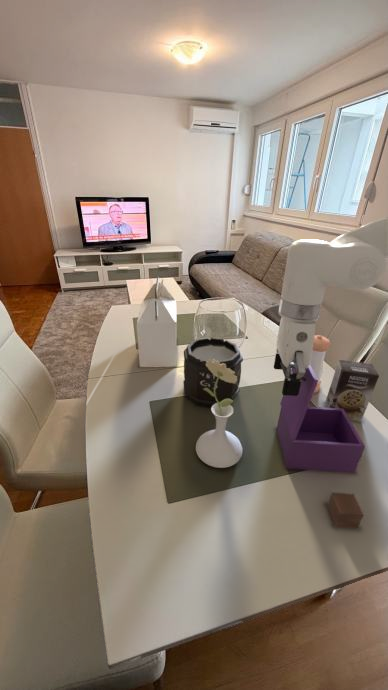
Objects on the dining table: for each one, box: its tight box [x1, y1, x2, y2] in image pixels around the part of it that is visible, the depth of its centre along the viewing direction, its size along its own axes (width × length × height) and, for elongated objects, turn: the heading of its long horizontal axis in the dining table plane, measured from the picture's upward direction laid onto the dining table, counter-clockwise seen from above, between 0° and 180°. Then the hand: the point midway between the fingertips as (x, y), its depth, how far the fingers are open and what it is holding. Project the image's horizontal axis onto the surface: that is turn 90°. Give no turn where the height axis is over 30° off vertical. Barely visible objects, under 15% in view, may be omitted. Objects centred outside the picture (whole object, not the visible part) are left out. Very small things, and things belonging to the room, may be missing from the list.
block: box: [326, 492, 364, 529], centre depth 59 cm, size 4×4×4 cm
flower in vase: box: [195, 359, 243, 469], centre depth 68 cm, size 13×11×25 cm
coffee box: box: [324, 359, 380, 423], centre depth 84 cm, size 9×6×16 cm
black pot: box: [183, 337, 244, 408], centre depth 92 cm, size 18×18×16 cm
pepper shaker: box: [310, 334, 331, 394], centre depth 94 cm, size 7×7×19 cm
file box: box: [276, 406, 366, 474], centre depth 73 cm, size 16×13×9 cm
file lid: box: [279, 361, 318, 441], centre depth 67 cm, size 16×13×5 cm
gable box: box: [136, 276, 178, 368], centre depth 110 cm, size 22×13×28 cm, turn 3°
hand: (284, 381), depth 65 cm, fingers open, 9 cm apart
